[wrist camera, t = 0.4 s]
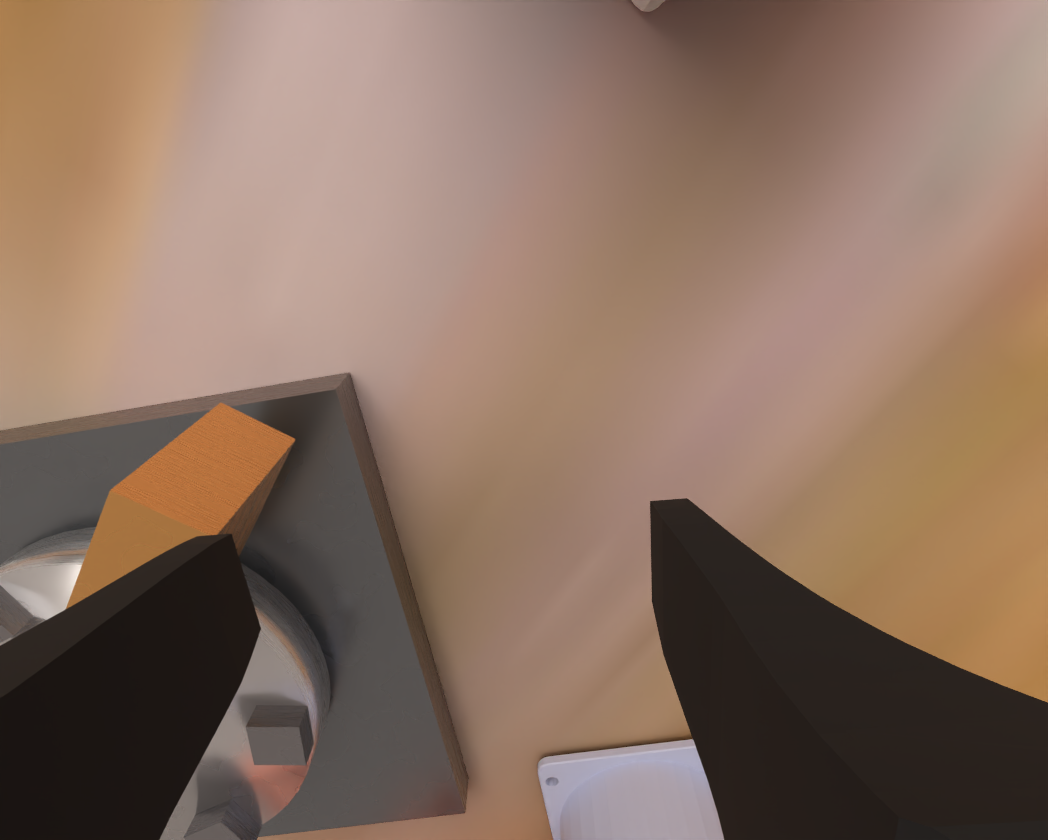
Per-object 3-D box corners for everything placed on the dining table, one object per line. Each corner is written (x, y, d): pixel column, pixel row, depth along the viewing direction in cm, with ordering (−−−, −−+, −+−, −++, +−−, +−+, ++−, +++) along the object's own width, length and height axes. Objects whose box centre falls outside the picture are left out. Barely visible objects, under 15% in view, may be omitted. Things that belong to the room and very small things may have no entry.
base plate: (468, 778, 26) (464, 817, 24) (64, 826, 27) (36, 867, 26) (349, 372, 19) (333, 391, 18) (-182, 460, 20) (-241, 485, 19)
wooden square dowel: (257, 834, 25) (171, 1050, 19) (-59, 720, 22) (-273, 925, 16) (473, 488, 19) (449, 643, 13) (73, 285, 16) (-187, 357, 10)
